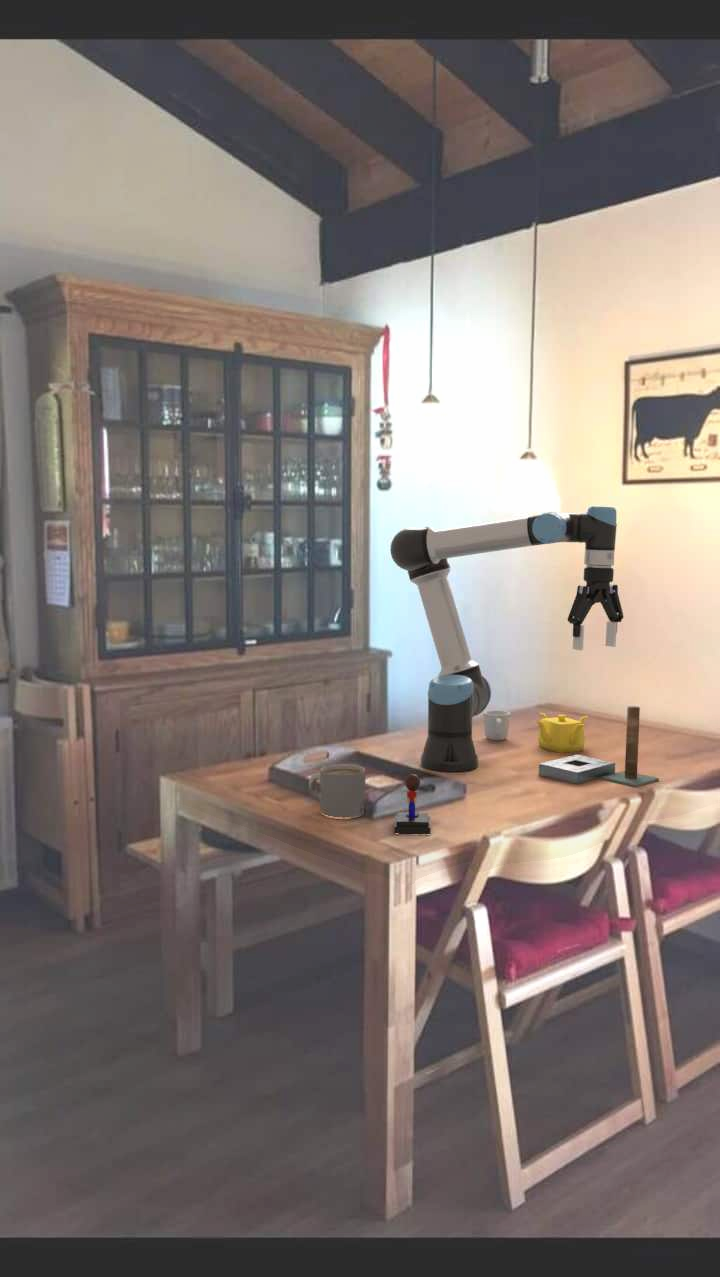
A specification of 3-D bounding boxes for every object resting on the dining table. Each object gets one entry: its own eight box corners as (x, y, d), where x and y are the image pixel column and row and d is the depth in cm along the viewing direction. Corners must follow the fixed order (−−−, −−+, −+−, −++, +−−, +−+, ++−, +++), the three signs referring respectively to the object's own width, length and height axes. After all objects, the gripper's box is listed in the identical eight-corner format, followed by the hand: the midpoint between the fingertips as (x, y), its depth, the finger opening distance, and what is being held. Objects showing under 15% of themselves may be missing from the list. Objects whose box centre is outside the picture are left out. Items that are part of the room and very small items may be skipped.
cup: (512, 744, 303) (513, 717, 302) (485, 743, 303) (485, 716, 302) (508, 736, 314) (508, 710, 313) (481, 735, 314) (482, 709, 313)
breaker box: (576, 784, 258) (577, 772, 257) (538, 775, 267) (539, 763, 266) (614, 774, 268) (615, 762, 268) (576, 765, 277) (577, 754, 277)
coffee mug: (374, 812, 232) (374, 768, 231) (345, 822, 224) (345, 777, 223) (328, 801, 240) (329, 759, 239) (299, 810, 233) (299, 767, 232)
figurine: (429, 823, 224) (430, 769, 223) (430, 835, 216) (431, 778, 214) (394, 822, 224) (395, 768, 223) (394, 834, 216) (395, 778, 215)
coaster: (636, 787, 255) (636, 784, 255) (601, 779, 263) (602, 776, 263) (658, 780, 262) (658, 778, 262) (624, 772, 269) (625, 770, 269)
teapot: (539, 741, 307) (539, 709, 306) (587, 744, 303) (588, 712, 302) (532, 752, 293) (533, 718, 292) (583, 755, 289) (584, 721, 288)
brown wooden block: (632, 779, 260) (635, 708, 258) (622, 777, 262) (625, 707, 260) (639, 777, 262) (642, 707, 260) (629, 775, 264) (631, 705, 262)
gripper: (579, 568, 258) (575, 652, 260) (640, 566, 274) (635, 646, 276) (556, 566, 263) (552, 649, 266) (616, 564, 279) (611, 643, 282)
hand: (594, 648), depth 271 cm, fingers open, 13 cm apart
